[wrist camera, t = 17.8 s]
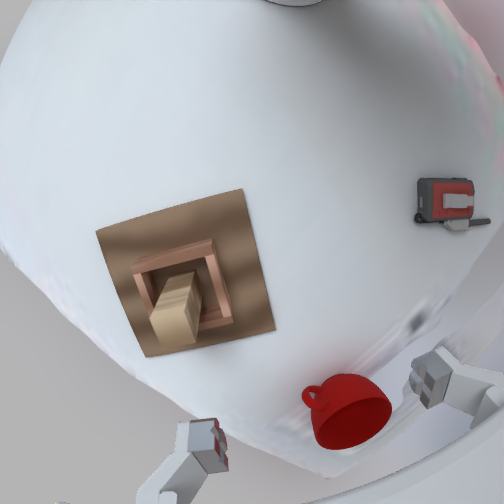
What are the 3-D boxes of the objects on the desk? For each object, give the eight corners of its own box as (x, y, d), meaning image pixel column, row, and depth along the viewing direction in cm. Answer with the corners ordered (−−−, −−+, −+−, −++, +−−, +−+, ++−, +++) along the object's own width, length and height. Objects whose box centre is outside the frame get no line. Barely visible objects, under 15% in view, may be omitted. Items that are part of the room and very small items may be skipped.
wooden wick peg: (169, 275, 37) (149, 319, 26) (195, 268, 37) (184, 311, 26) (178, 299, 38) (162, 349, 27) (202, 293, 38) (196, 342, 27)
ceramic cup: (320, 337, 43) (342, 377, 33) (381, 373, 47) (405, 407, 37) (268, 391, 45) (278, 435, 36) (335, 418, 49) (351, 454, 39)
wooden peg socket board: (98, 229, 35) (82, 238, 31) (241, 188, 36) (244, 191, 31) (147, 353, 41) (140, 373, 36) (274, 326, 42) (280, 344, 37)
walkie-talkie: (409, 233, 40) (484, 225, 42) (426, 240, 36) (500, 230, 38) (409, 176, 38) (486, 179, 39) (427, 178, 34) (502, 181, 35)
